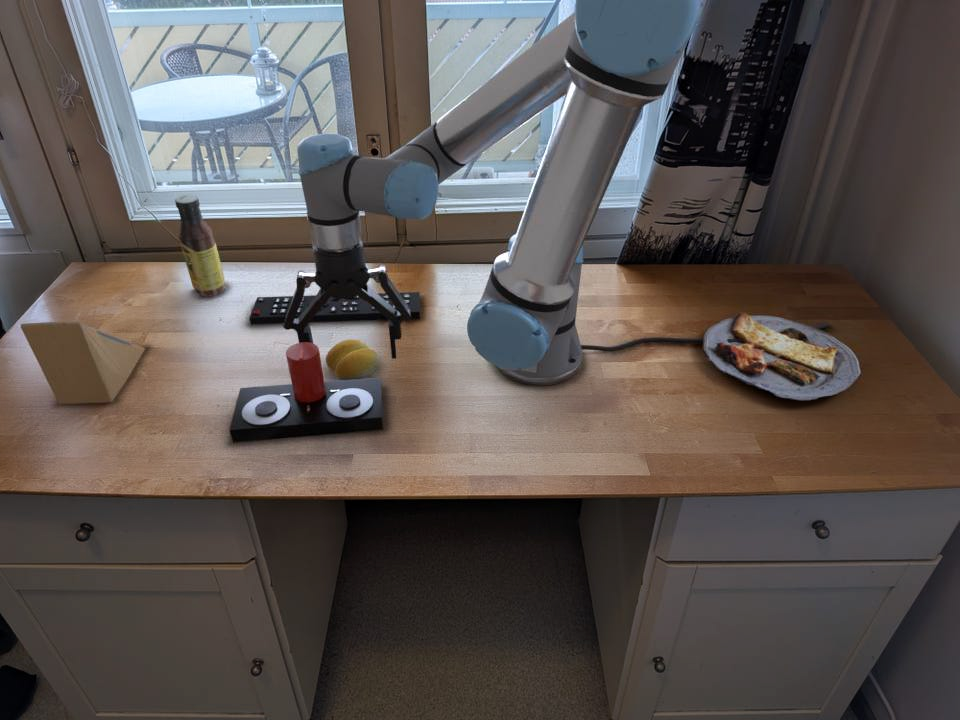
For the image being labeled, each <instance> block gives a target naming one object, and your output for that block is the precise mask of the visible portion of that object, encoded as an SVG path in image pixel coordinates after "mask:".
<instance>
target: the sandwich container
mask: <svg viewBox="0 0 960 720" xmlns="http://www.w3.org/2000/svg"><path fill="white" fill-rule="evenodd" d="M20 329H21V332H22V333H23V335H24V337H25V339H26V341H27V344H28V345H29V347H30V349H31V351H32V353H33V355H34V357H35V360H36V361H37V363H38V365H39V367H40V369H41V372H42V373H43V376H44V377H45V379H46V381H47V383H48V385H49V387H50V389H51V391H52V393H53V395H54V397H55V399H56V400H57V402H58V404H59V405H75V404H104V403H105V404H106V403H112V402H113V401H114V400H115V398H116V397H117V395H118V394H119V392H121V389H122V388H123V386H124V385H125V383H126V382H127V381H128V379H129V377H130V375H131V374H132V372H133V371H134V369H135V367H136V366H137V364H138V362H139V360H140V359H141V357H142V355H143V354H144V352H145V350H146V348H145V347H143V346H140V345H138V344H135V343H131V342H129V341H127V340H124V339H121V338H119V337H115V336H113V335H111V334H108V333H105V332H103V331H101V330H98V329H96V328H94V327H92V326H89V325H87V324H84V323H82V322H79V321H44V322H27V323H21V324H20Z"/></svg>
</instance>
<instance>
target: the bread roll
mask: <svg viewBox="0 0 960 720" xmlns="http://www.w3.org/2000/svg"><path fill="white" fill-rule="evenodd" d="M325 363H326V365H327V367H328V368H329V370H331V372H333V373H334V375H336V376H337V377H338V378H339V379H341V380H352V379H366V378H369V377H370V376H371V375H372V374H373V373H375V372H376V370H377V368H378V366H379V356H378V353H377V351H376V350H375V349H372V348H370V346H369V345H368V344H366V343H365V342H363V341H360V340H358V339H345V340H342V341H340V342H338V343H336V344H335V345H334V346H332V347H331V348H330V349H329V350H328V351H327V354H326V356H325Z"/></svg>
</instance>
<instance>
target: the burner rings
mask: <svg viewBox="0 0 960 720" xmlns="http://www.w3.org/2000/svg"><path fill="white" fill-rule="evenodd" d="M372 405H373V398H372V396H371V395H370V394H369V393H368V392H367V391H365V390H362V389H357V388H350V389H344V390H341V391H338V392H336V393H334V394H333V395H332V396H331V397H330V398H329V399H328V401H327V404H326V406H327V410H328V412H329V413H330V414H331V415H333V416H335V417H337V418H342V419H351V418H356V417H359V416H362V415H364V414H365V413H367V412H368V411H369V410H370V409H371V407H372ZM289 411H290V403H289V401H288V400H287V399H286V398H285V397H283V396H279V395H264V396H260V397H257V398H255V399H253V400H251V401H250V402H248V403H247V404H246V405H245V407H244V408H243V410H242V417H243V419H244V420H245V421H246V422H247V423H249V424H251V425H255V426H266V425H271V424H274V423H277V422H279V421H281V420H282V419H283V418H285V417H286V416H287V415H288V413H289Z"/></svg>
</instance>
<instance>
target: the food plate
mask: <svg viewBox="0 0 960 720" xmlns="http://www.w3.org/2000/svg"><path fill="white" fill-rule="evenodd" d="M814 327H815V326H810V325H809V324H805V323H801V322H799V321H795V320H791V319H787V318H784V317H779V316H773V315H763V314H762V315H752V314H751V315H749V314H748V313H747V312H746V311H745V312H743V311H741V312H739V313H738V314H737V315H736V316H734V317H728V318H725V319H722V320H721V321H717V322H716V323H714V324H712V325H710V326H709V327H708V328H707V329H706V330H705V331H704V333H703V335H702V339H703V343H702V346H701V350H702V351H703V353H704V355H705V356H704V358H706V357H707V360H708V361H709V362H711V361H712V363H713V364H712V365H713V366H714V368H716V369H717V370H718V371H719V370H720V371H722V373H726V374H727V375H729V376H731V377H734V378H735V379H738V380H739V381H741V382H743V383H745V384H746V385H747V386H752V387H755V388H758V389H759V390H765V391H769V393H772V394H773V395H774V396H776V397H777V398H782V399H789V400H793V401H794V400H796V401H811V400H817V399H819V398H824V397H829V396H833V395H838V394H839V393H842V392H843V391H846V390H847V389H848V388H850V387H851V386H852V385H853V383H854V382H856V380H857V379H858V378H859V376H860V375H861V374H862V372H861V368H860V363H859V360H858V357H857V356H856V354H855V353H854V352H853V350H851V349H850V347H848V346H847V345H846V344H845V343H843V342H841V341H839V340H838V339H837V338H835V337H834V336H833V335H831V334H830V333H828V332H826V331H824V330H823V329H820V330H819V329H817V328H814ZM815 329H816V330H815ZM727 339H741V340H742V342H741V343H738V342H732V343H729V342H728V341H727Z"/></svg>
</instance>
